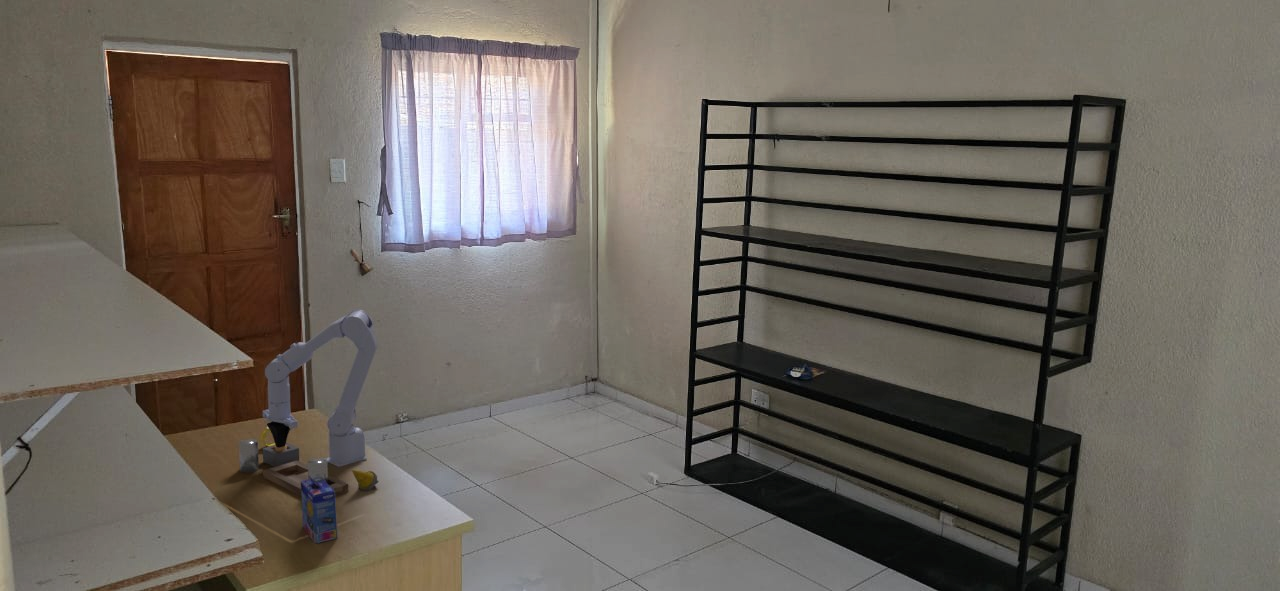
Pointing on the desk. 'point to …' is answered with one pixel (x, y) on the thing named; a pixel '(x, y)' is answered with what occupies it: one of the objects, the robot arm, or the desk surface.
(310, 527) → the ink cartridge box
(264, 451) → the button housing
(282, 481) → the frame
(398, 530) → the desk surface
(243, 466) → the steel billet
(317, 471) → the cylinder
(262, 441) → the watch
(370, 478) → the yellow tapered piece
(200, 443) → the desk surface
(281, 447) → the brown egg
